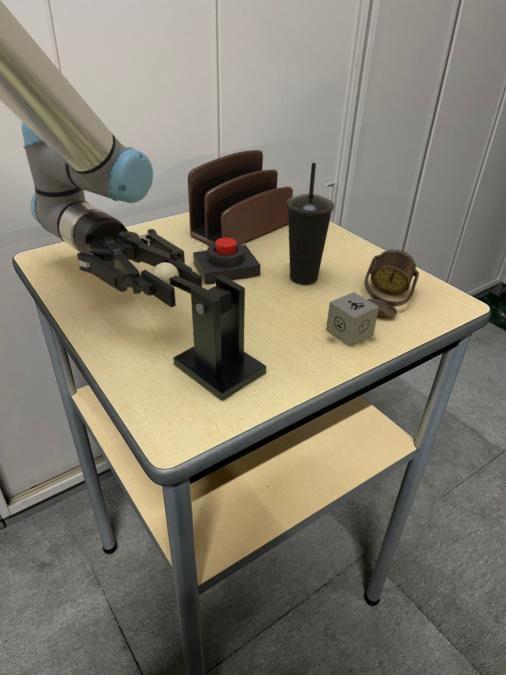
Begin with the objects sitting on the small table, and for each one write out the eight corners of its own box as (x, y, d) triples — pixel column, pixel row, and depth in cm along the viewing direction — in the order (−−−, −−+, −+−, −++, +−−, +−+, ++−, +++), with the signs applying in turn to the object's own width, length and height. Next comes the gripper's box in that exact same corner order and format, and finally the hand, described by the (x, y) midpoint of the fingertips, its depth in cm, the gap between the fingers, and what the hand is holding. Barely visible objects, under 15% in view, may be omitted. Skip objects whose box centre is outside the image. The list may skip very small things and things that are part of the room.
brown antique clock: (443, 267, 83) (393, 235, 88) (405, 290, 75) (351, 253, 79) (423, 301, 88) (376, 269, 92) (384, 326, 80) (335, 290, 84)
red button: (219, 257, 88) (219, 247, 87) (213, 247, 91) (213, 238, 90) (239, 254, 89) (239, 245, 88) (232, 245, 92) (232, 236, 91)
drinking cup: (283, 265, 94) (290, 154, 82) (326, 269, 93) (339, 157, 81) (279, 287, 88) (286, 170, 76) (324, 291, 87) (339, 173, 75)
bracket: (173, 364, 71) (166, 283, 63) (217, 340, 76) (215, 262, 68) (222, 401, 65) (220, 317, 58) (266, 372, 70) (270, 292, 62)
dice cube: (349, 346, 75) (354, 318, 72) (326, 329, 78) (329, 302, 75) (373, 334, 77) (379, 306, 74) (349, 319, 81) (353, 291, 78)
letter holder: (189, 236, 103) (185, 165, 94) (258, 209, 114) (260, 144, 106) (223, 253, 97) (222, 179, 89) (292, 223, 109) (297, 155, 100)
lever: (148, 290, 72) (143, 264, 70) (170, 280, 74) (166, 255, 72) (215, 323, 63) (212, 295, 61) (238, 311, 65) (235, 284, 63)
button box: (205, 284, 88) (204, 263, 86) (193, 263, 94) (192, 242, 92) (260, 275, 91) (260, 255, 88) (245, 255, 97) (245, 235, 94)
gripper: (142, 239, 89) (234, 293, 75) (49, 272, 79) (135, 340, 66) (137, 197, 84) (234, 246, 71) (38, 226, 75) (128, 289, 61)
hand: (186, 291), depth 68 cm, fingers closed on lever, 4 cm apart
